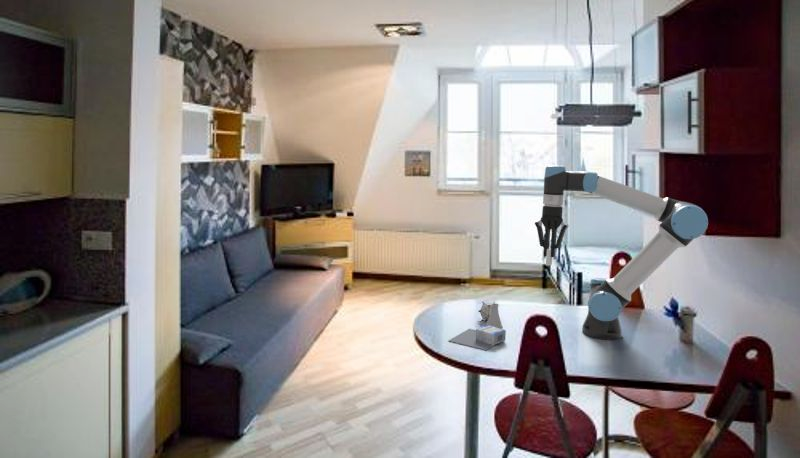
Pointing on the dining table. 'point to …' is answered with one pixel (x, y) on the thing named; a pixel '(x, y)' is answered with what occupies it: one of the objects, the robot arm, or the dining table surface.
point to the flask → (494, 317)
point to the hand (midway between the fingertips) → (548, 264)
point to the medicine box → (490, 335)
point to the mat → (470, 340)
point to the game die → (485, 310)
